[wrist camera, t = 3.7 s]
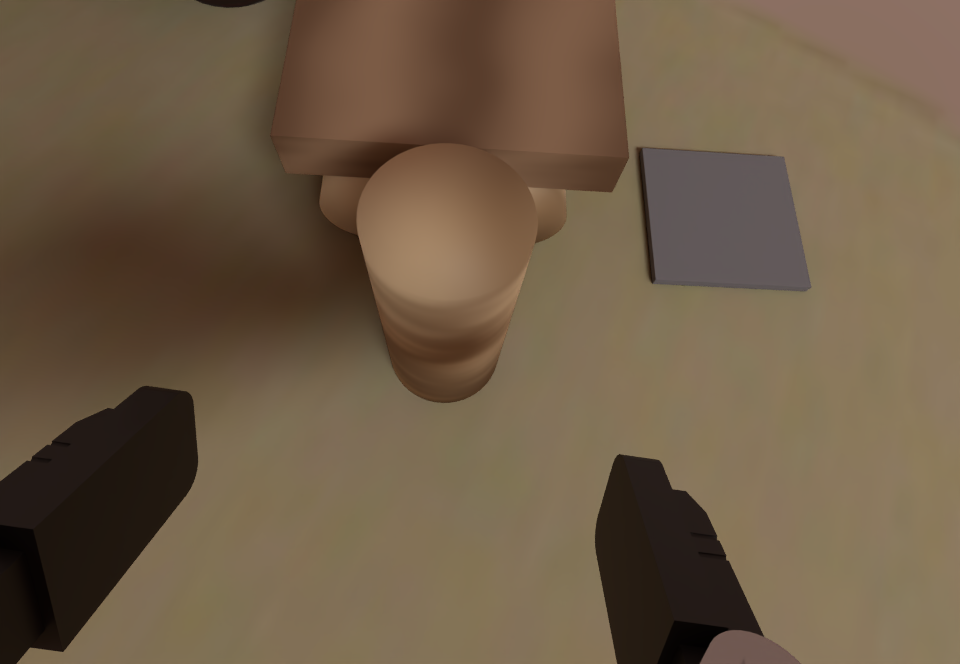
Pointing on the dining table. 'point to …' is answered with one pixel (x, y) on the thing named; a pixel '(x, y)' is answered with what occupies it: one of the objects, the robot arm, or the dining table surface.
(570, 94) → the slab
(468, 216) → the roller
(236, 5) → the coffee mug
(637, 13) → the dining table surface
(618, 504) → the robot arm
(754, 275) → the mat
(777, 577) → the dining table surface
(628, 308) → the dining table surface
